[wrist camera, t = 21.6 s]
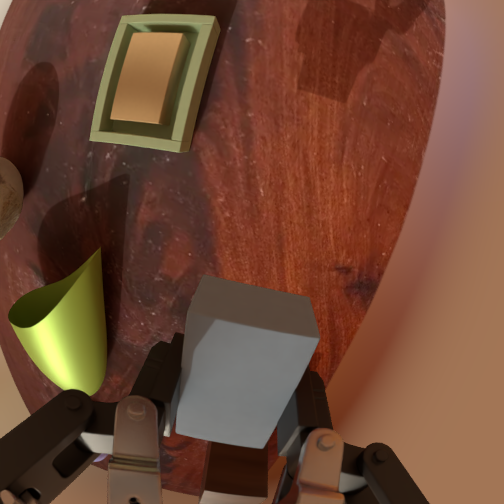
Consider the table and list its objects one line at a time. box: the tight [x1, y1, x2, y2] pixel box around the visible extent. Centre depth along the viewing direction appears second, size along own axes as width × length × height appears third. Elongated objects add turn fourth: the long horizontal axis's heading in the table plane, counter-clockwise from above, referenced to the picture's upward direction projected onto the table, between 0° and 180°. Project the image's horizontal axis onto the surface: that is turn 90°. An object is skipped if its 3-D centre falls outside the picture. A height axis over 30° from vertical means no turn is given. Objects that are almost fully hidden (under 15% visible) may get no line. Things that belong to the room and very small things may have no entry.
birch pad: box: [110, 32, 191, 126], centre depth 17 cm, size 7×4×2 cm, turn 167°
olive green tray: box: [90, 14, 221, 152], centre depth 17 cm, size 11×8×3 cm
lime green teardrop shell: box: [8, 247, 107, 396], centre depth 24 cm, size 8×12×20 cm
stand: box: [198, 441, 268, 504], centre depth 29 cm, size 9×7×11 cm
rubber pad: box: [176, 275, 320, 449], centre depth 10 cm, size 7×4×2 cm, turn 167°
